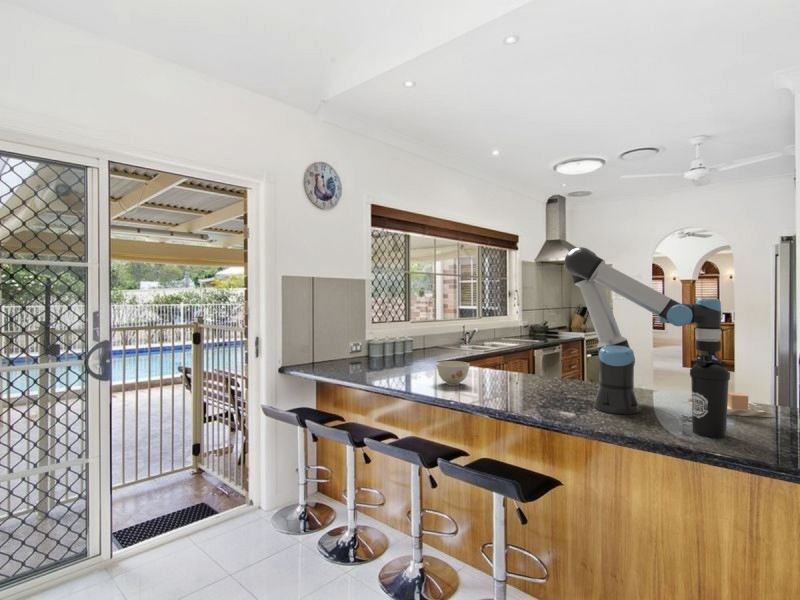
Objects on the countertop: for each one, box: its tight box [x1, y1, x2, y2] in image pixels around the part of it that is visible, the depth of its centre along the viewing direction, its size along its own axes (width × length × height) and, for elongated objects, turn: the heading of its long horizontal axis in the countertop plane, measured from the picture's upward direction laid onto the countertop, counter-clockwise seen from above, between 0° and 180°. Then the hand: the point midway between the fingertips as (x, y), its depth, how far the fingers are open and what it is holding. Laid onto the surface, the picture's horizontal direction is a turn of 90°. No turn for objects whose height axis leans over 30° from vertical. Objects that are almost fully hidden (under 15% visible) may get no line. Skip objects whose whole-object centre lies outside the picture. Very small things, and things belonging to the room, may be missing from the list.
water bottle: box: [689, 359, 731, 439], centre depth 133 cm, size 10×10×23 cm
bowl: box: [436, 360, 470, 387], centre depth 206 cm, size 16×16×10 cm
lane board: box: [687, 397, 775, 418], centre depth 160 cm, size 21×16×2 cm
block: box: [727, 391, 749, 410], centre depth 156 cm, size 5×5×5 cm
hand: (707, 402), depth 158 cm, fingers closed on strip, 5 cm apart
